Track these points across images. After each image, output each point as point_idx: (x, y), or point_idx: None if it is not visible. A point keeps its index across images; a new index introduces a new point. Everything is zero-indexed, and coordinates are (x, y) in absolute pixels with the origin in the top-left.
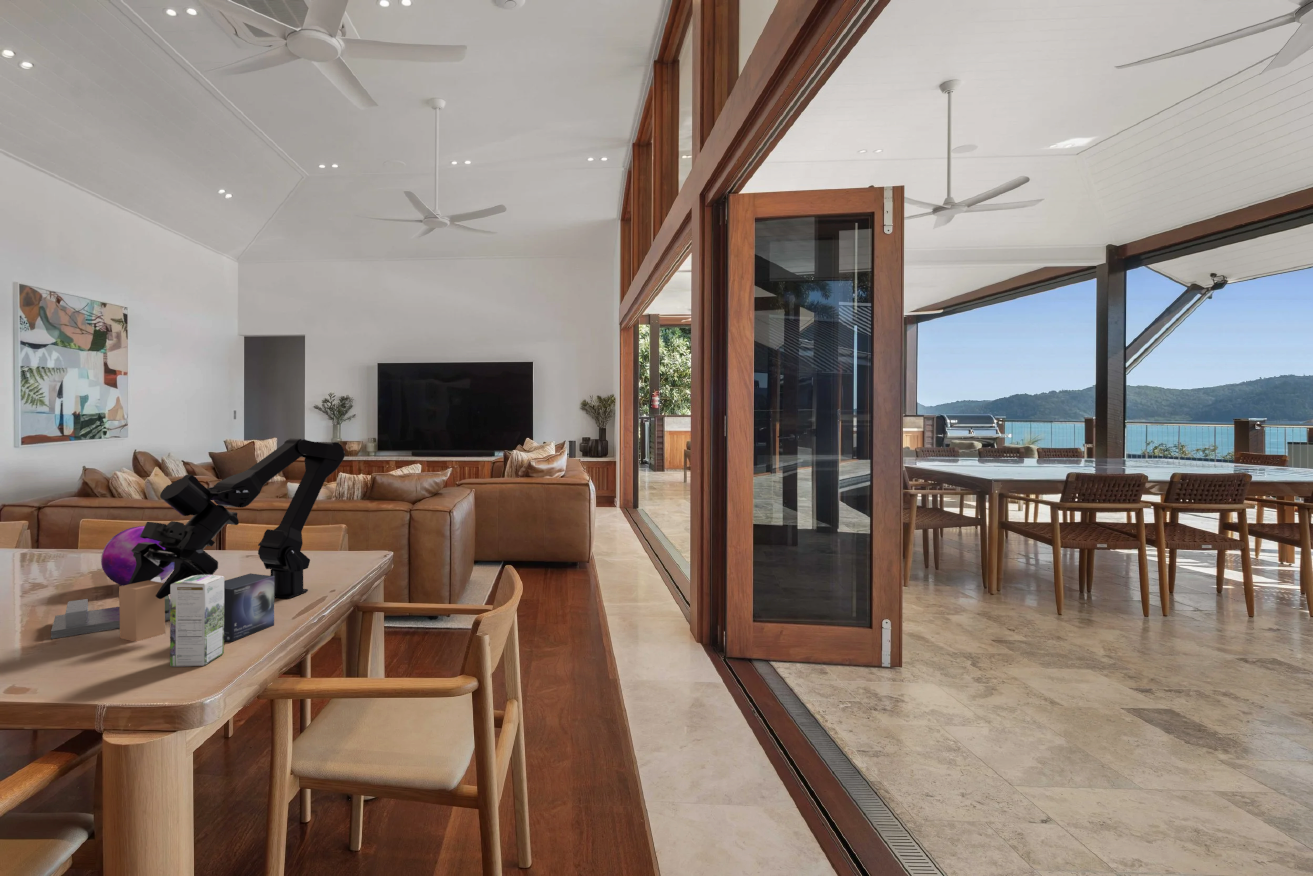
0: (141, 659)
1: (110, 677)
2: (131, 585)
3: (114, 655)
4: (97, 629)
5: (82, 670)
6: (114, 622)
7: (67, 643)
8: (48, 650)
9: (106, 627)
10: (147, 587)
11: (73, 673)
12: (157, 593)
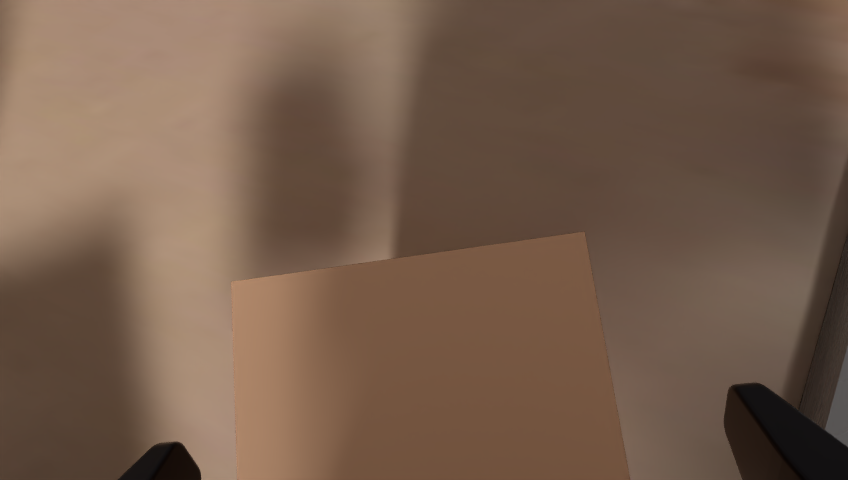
0: (100, 221)
1: (18, 75)
2: (504, 349)
3: (264, 176)
4: (842, 283)
5: (190, 39)
6: (833, 371)
7: (700, 110)
8: (641, 24)
9: (833, 329)
10: (237, 425)
11: (187, 10)
12: (152, 464)
